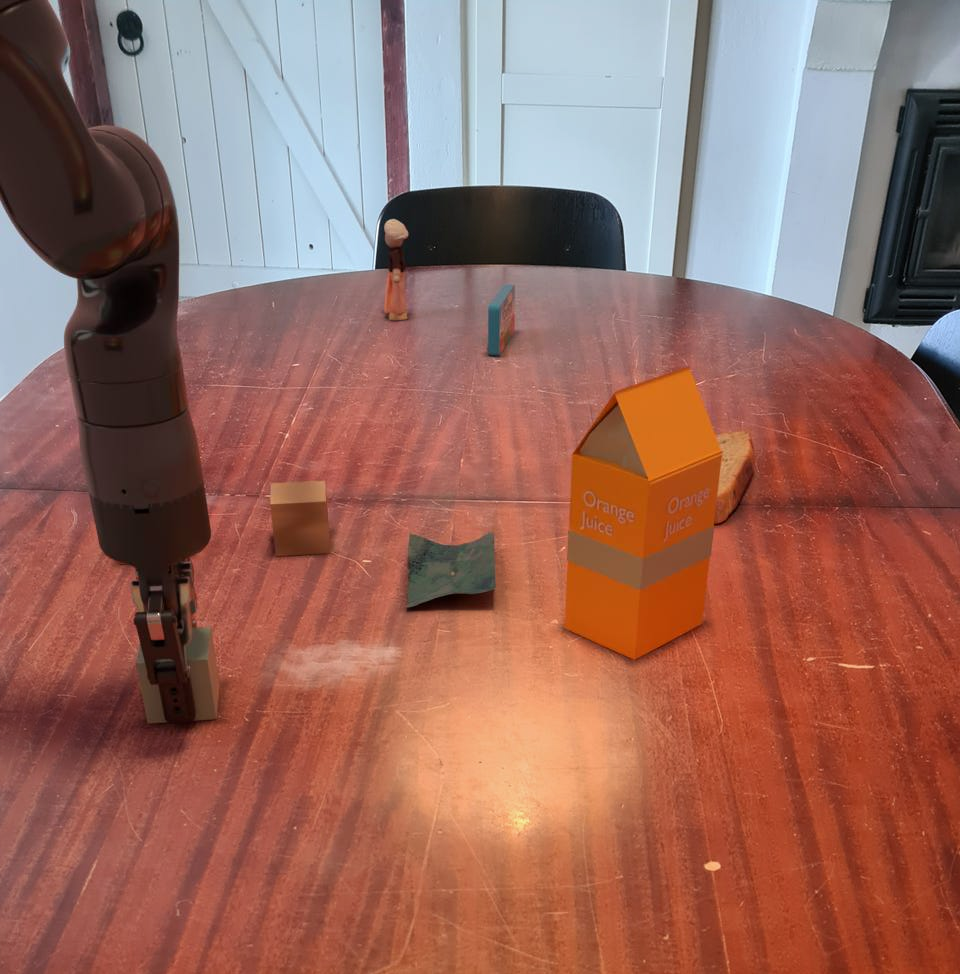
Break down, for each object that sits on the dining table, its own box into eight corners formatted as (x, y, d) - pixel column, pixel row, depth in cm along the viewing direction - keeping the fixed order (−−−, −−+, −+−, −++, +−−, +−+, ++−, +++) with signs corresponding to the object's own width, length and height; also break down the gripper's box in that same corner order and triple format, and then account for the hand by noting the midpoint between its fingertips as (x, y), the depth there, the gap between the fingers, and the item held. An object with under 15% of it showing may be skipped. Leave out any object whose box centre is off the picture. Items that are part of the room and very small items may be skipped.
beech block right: (275, 556, 113) (269, 503, 110) (276, 534, 117) (270, 482, 114) (330, 553, 113) (326, 501, 110) (329, 531, 117) (325, 480, 114)
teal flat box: (503, 331, 171) (504, 283, 167) (514, 331, 171) (514, 283, 167) (488, 356, 162) (488, 306, 158) (499, 356, 161) (499, 306, 158)
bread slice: (695, 531, 117) (700, 493, 115) (580, 473, 129) (582, 437, 126) (830, 491, 125) (836, 454, 122) (710, 439, 137) (714, 405, 134)
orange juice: (703, 624, 102) (733, 376, 90) (634, 660, 97) (656, 404, 85) (631, 594, 107) (650, 354, 94) (562, 627, 102) (572, 379, 89)
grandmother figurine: (381, 310, 179) (376, 214, 172) (407, 309, 180) (403, 213, 172) (387, 325, 174) (383, 226, 166) (414, 323, 174) (411, 224, 166)
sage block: (147, 723, 90) (135, 663, 87) (153, 689, 94) (142, 630, 91) (216, 719, 91) (207, 659, 88) (220, 685, 95) (211, 626, 91)
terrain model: (497, 608, 104) (496, 587, 103) (405, 612, 104) (403, 592, 103) (494, 545, 114) (493, 526, 113) (410, 550, 114) (409, 530, 113)
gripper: (100, 443, 87) (142, 656, 97) (72, 524, 76) (122, 755, 86) (208, 438, 88) (238, 650, 98) (195, 518, 76) (231, 748, 87)
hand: (183, 698), depth 92 cm, fingers open, 5 cm apart
